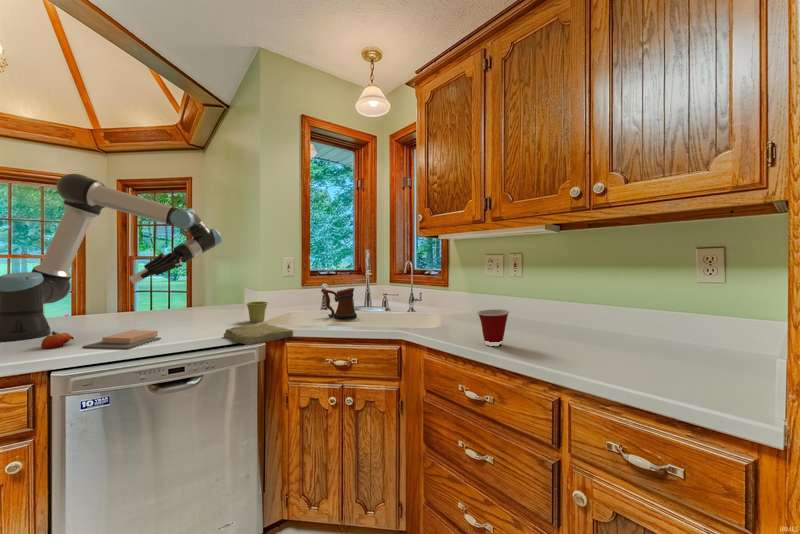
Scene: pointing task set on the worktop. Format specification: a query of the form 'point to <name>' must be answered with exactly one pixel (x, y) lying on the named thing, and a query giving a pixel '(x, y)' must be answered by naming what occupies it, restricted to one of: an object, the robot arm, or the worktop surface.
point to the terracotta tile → (129, 337)
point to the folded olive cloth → (257, 333)
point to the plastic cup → (493, 324)
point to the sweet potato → (56, 340)
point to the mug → (341, 303)
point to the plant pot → (256, 311)
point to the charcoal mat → (119, 346)
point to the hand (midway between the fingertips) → (131, 280)
